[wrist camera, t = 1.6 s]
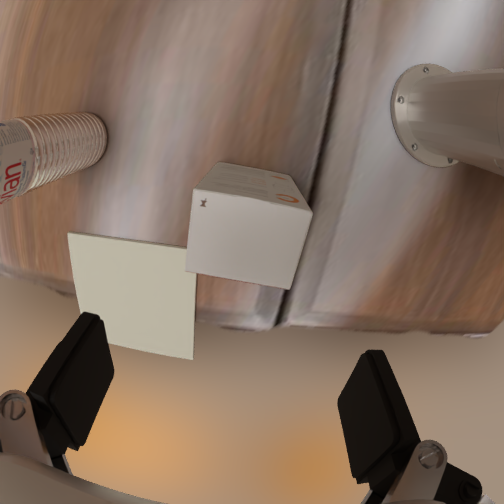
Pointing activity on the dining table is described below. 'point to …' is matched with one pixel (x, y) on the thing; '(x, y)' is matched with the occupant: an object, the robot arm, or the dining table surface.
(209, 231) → the small box
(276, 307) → the dining table surface
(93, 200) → the dining table surface
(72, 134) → the water bottle
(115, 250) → the mat
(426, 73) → the robot arm
